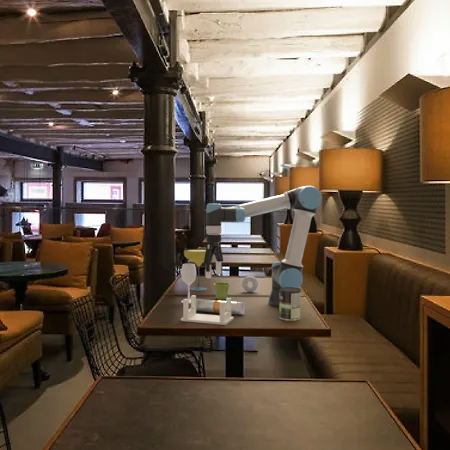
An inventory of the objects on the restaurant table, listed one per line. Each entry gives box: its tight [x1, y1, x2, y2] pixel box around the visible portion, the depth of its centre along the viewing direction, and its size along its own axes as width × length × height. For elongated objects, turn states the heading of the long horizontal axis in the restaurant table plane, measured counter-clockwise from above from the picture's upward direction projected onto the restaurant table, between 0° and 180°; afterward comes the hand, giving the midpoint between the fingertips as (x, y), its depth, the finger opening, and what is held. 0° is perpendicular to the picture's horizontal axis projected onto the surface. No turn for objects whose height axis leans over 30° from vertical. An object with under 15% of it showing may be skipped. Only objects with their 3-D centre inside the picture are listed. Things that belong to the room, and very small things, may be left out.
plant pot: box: [213, 281, 231, 301], centre depth 278 cm, size 9×9×9 cm
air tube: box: [196, 298, 246, 316], centre depth 243 cm, size 26×6×6 cm, turn 71°
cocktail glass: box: [183, 248, 208, 292], centre depth 306 cm, size 18×18×25 cm
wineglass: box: [180, 263, 197, 305], centre depth 268 cm, size 9×9×21 cm
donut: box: [241, 275, 259, 293], centre depth 298 cm, size 10×3×10 cm, turn 88°
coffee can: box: [278, 287, 302, 322], centre depth 232 cm, size 10×10×14 cm
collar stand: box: [180, 294, 235, 326], centre depth 229 cm, size 22×12×10 cm, turn 71°
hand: (213, 276), depth 246 cm, fingers open, 13 cm apart
